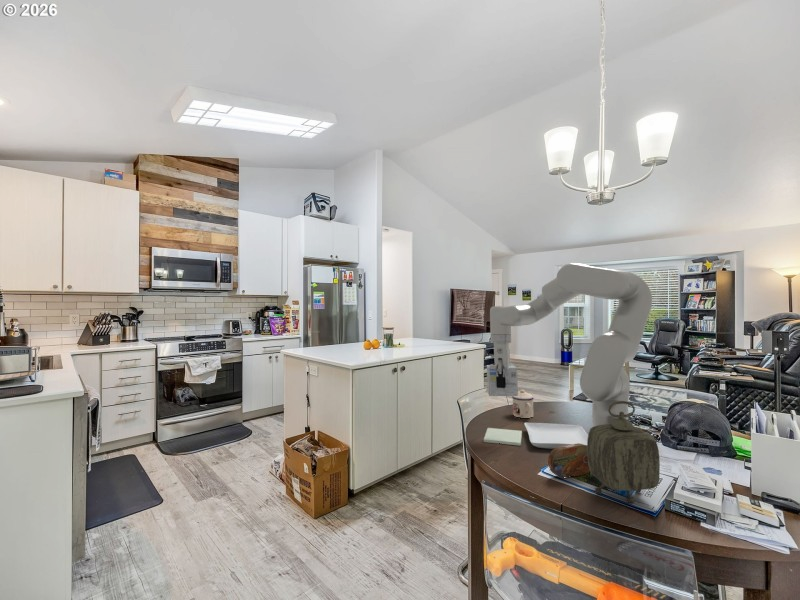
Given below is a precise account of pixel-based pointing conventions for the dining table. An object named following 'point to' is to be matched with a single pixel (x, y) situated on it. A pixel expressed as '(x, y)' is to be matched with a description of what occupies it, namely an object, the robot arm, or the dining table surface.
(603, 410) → the robot arm
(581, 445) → the tin
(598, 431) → the tabletop clock
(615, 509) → the dining table surface
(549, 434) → the salad plate
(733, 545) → the dining table surface
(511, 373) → the light bulb box
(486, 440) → the sage mat
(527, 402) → the teacup with lid
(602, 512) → the dining table surface
